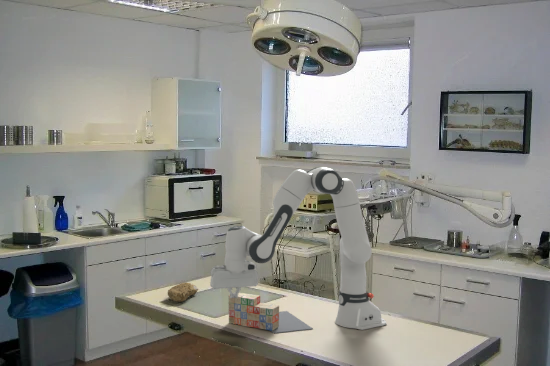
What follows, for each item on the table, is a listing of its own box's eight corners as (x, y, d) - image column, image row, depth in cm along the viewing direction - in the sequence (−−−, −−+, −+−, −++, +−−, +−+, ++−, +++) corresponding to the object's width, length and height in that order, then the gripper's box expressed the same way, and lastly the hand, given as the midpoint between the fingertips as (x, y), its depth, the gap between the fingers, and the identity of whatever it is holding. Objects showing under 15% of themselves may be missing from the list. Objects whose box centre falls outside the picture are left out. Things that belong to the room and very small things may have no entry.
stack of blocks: (279, 326, 262) (279, 298, 261) (272, 331, 257) (272, 302, 256) (235, 319, 272) (235, 291, 271) (228, 323, 267) (228, 295, 266)
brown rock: (181, 294, 314) (156, 295, 296) (185, 280, 314) (161, 279, 296) (201, 304, 308) (177, 305, 290) (206, 288, 308) (182, 288, 290)
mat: (286, 311, 286) (286, 310, 286) (312, 329, 263) (312, 328, 263) (250, 315, 279) (250, 314, 279) (273, 333, 255) (273, 332, 255)
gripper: (213, 267, 252) (212, 301, 253) (260, 265, 260) (258, 298, 261) (208, 264, 257) (207, 297, 259) (254, 262, 266) (253, 294, 267)
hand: (233, 297), depth 260 cm, fingers closed
